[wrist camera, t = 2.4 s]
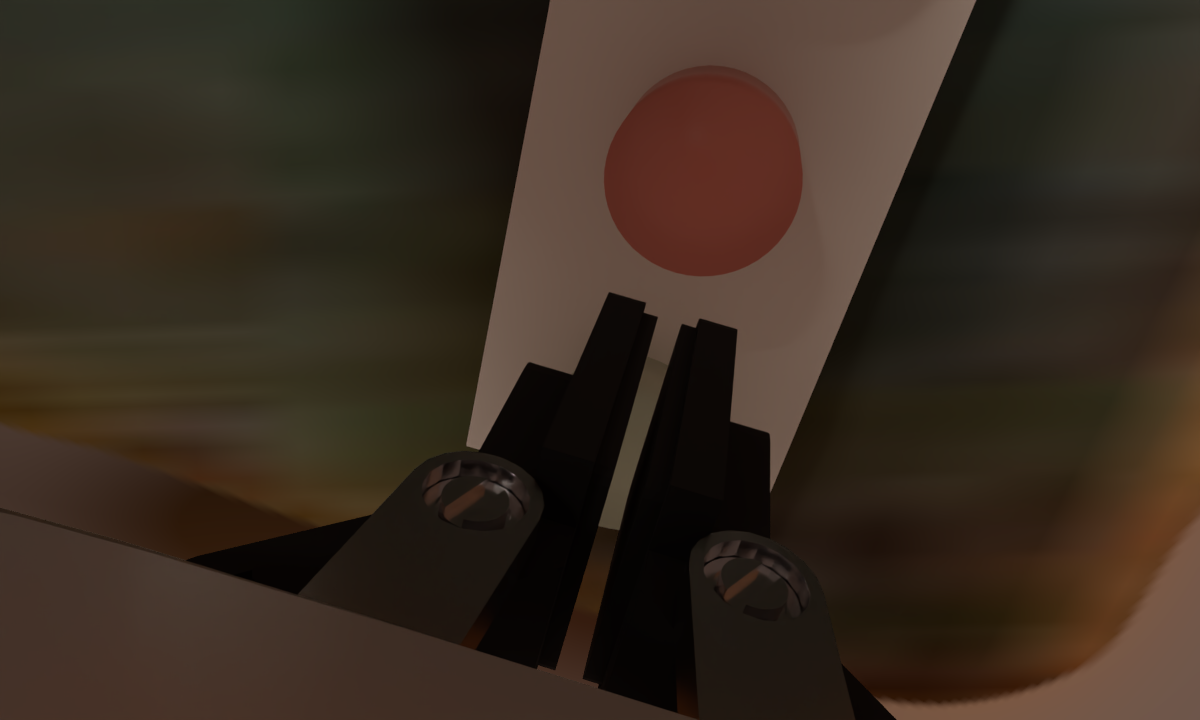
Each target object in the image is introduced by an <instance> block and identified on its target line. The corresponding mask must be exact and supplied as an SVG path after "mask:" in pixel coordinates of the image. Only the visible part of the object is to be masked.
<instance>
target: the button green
mask: <svg viewBox="0 0 1200 720" xmlns="http://www.w3.org/2000/svg"><path fill="white" fill-rule="evenodd" d="M667 368H668V365H666V364H664V363H662V362H660V361H658V360H655V359H652V358H650V357H647V358H646V362H645V365H644V369H643V373H642V376H641V380H640V383H639V387H638V390H637V394H636V397H635V401H634V404H633V408H632V412H631V415H630V419H629V422H628V426H627V429H626V433H625V436H624V440H623V443H622V447H621V451H620V454H619V458H618V461H617V465H616V468H615V471H614V475H613V478H612V482H611V485H610V488H609V492H608V495H607V499H606V502H605V505H604V509H603V512H602V515H601V519H600V522H599V525H598V526H601V527H605V528H609V529H616V530H619V529H620V525H621V521H622V517H623V513H624V509H625V505H626V501H627V497H628V494H629V490H630V487H631V483H632V480H633V476H634V473H635V470H636V467H637V464H638V460H639V457H640V454H641V451H642V448H643V445H644V441H645V438H646V435H647V432H648V429H649V425H650V422H651V419H652V416H653V413H654V410H655V406H656V403H657V400H658V397H659V394H660V390H661V387H662V384H663V381H664V378H665V374H666V371H667ZM574 372H575V371H574ZM574 372H573V373H572V375H573V374H574Z"/></svg>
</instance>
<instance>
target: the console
mask: <svg viewBox="0 0 1200 720" xmlns="http://www.w3.org/2000/svg"><path fill="white" fill-rule="evenodd" d="M975 2H976V0H550V4H549V10H548V15H547V20H546V25H545V31H544V36H543V41H542V47H541V52H540V57H539V63H538V68H537V73H536V78H535V84H534V89H533V94H532V100H531V105H530V110H529V115H528V121H527V126H526V131H525V137H524V142H523V147H522V153H521V158H520V163H519V168H518V174H517V179H516V184H515V190H514V195H513V200H512V206H511V211H510V216H509V221H508V227H507V232H506V237H505V243H504V248H503V253H502V259H501V264H500V269H499V274H498V280H497V285H496V290H495V296H494V301H493V306H492V312H491V317H490V322H489V327H488V333H487V338H486V343H485V349H484V354H483V359H482V365H481V370H480V375H479V380H478V386H477V391H476V396H475V402H474V407H473V412H472V418H471V423H470V428H469V433H468V439H467V444H466V446H469V447H472V448H475V449H478V450H480V448H481V446H482V445H483V443H484V441H485V439H486V437H487V435H488V434H489V432H490V430H491V428H492V426H493V424H494V423H495V421H496V419H497V417H498V415H499V413H500V412H501V410H502V408H503V406H504V404H505V402H506V401H507V399H508V397H509V395H510V393H511V391H512V390H513V388H514V386H515V384H516V382H517V380H518V379H519V377H520V375H521V373H522V371H523V369H524V368H525V366H526V365H527V363H528V362H531V363H535V364H538V365H541V366H545V367H548V368H552V369H555V370H558V371H562V372H565V373H568V374H572V373H573V372H574V371H575V369H576V367H577V365H578V362H579V360H580V358H581V355H582V353H583V351H584V348H585V346H586V344H587V341H588V339H589V337H590V335H591V332H592V330H593V328H594V325H595V323H596V321H597V318H598V316H599V314H600V311H601V309H602V307H603V304H604V302H605V300H606V297H607V295H608V293H609V292H611V293H615V294H618V295H622V296H625V297H629V298H632V299H635V300H639V301H642V302H646V306H645V310H644V313H647V314H650V315H654V316H657V317H658V319H657V323H656V326H655V330H654V334H653V337H652V341H651V344H650V348H649V351H648V355H647V357H650V358H652V359H655V360H658V361H660V362H662V363H664V364H666V365H669V362H670V359H671V355H672V352H673V349H674V346H675V343H676V339H677V336H678V333H679V330H680V327H681V325H682V324H685V325H688V326H691V327H695V328H696V325H697V323H698V320H699V318H701V319H704V320H708V321H711V322H715V323H718V324H722V325H725V326H728V327H732V328H735V329H737V331H738V332H737V344H736V356H735V369H734V381H733V393H732V405H731V417H730V421H731V422H734V423H738V424H741V425H744V426H748V427H751V428H755V429H758V430H761V431H765V432H768V433H769V434H770V492H771V490H772V488H773V485H774V483H775V480H776V478H777V476H778V473H779V471H780V468H781V466H782V464H783V461H784V459H785V457H786V454H787V452H788V449H789V447H790V445H791V442H792V440H793V437H794V435H795V433H796V430H797V428H798V425H799V423H800V421H801V418H802V416H803V413H804V411H805V409H806V406H807V404H808V401H809V399H810V397H811V394H812V392H813V390H814V387H815V385H816V382H817V380H818V378H819V375H820V373H821V370H822V368H823V366H824V363H825V361H826V358H827V356H828V354H829V351H830V349H831V346H832V344H833V342H834V339H835V337H836V334H837V332H838V330H839V327H840V325H841V322H842V320H843V318H844V315H845V313H846V311H847V308H848V306H849V303H850V301H851V299H852V296H853V294H854V291H855V289H856V287H857V284H858V282H859V279H860V277H861V275H862V272H863V270H864V267H865V265H866V263H867V260H868V258H869V255H870V253H871V251H872V248H873V246H874V244H875V241H876V239H877V236H878V234H879V232H880V229H881V227H882V224H883V222H884V220H885V217H886V215H887V212H888V210H889V208H890V205H891V203H892V200H893V198H894V196H895V193H896V191H897V188H898V186H899V184H900V181H901V179H902V176H903V174H904V172H905V169H906V167H907V165H908V162H909V160H910V157H911V155H912V153H913V150H914V148H915V145H916V143H917V141H918V138H919V136H920V133H921V131H922V129H923V126H924V124H925V121H926V119H927V117H928V114H929V112H930V109H931V107H932V105H933V102H934V100H935V98H936V95H937V93H938V90H939V88H940V86H941V83H942V81H943V78H944V76H945V74H946V71H947V69H948V66H949V64H950V62H951V59H952V57H953V54H954V52H955V50H956V47H957V45H958V42H959V40H960V38H961V35H962V33H963V30H964V28H965V26H966V23H967V21H968V19H969V16H970V14H971V11H972V9H973V7H974V4H975ZM708 65H712V66H724V67H729V68H734V69H737V70H740V71H743V72H746V73H748V74H750V75H752V76H754V77H756V78H758V79H759V80H760V81H762V82H763V83H765V84H766V85H768V86H769V87H770V88H771V89H772V90H773V91H774V92H775V93H776V94H777V95H778V96H779V98H780V99H781V100H782V101H783V103H784V104H785V106H786V107H787V109H788V111H789V112H790V114H791V116H792V119H793V121H794V123H795V126H796V130H797V134H798V138H799V146H800V154H801V163H802V171H803V186H802V193H801V199H800V203H799V206H798V210H797V213H796V215H795V217H794V219H793V222H792V224H791V225H790V227H789V229H788V230H787V232H786V234H785V235H784V236H783V237H782V239H781V240H780V241H779V242H778V244H777V245H776V246H775V247H773V248H772V249H771V250H770V251H769V252H768V253H767V254H766V255H764V256H763V257H762V258H760V259H759V260H757V261H756V262H754V263H752V264H750V265H749V266H747V267H744V268H742V269H739V270H737V271H734V272H730V273H727V274H722V275H716V276H690V275H684V274H679V273H675V272H672V271H669V270H666V269H663V268H661V267H659V266H657V265H655V264H653V263H652V262H650V261H649V260H647V259H646V258H644V257H643V256H641V255H640V254H639V253H638V252H637V251H636V250H634V249H633V248H632V247H631V246H630V244H629V243H628V242H627V241H626V240H625V239H624V237H623V236H622V235H621V233H620V232H619V230H618V229H617V227H616V225H615V223H614V221H613V219H612V217H611V214H610V211H609V209H608V205H607V201H606V197H605V189H604V169H605V163H606V157H607V154H608V151H609V147H610V145H611V142H612V140H613V138H614V136H615V134H616V132H617V130H618V129H619V127H620V126H621V124H622V123H623V121H624V120H625V118H626V117H627V116H628V114H629V113H630V111H631V110H632V109H633V107H634V106H635V104H636V103H637V102H638V101H639V99H640V98H641V97H642V96H643V95H644V94H645V93H646V92H647V91H648V90H649V89H650V88H651V87H652V86H653V85H655V84H656V83H658V82H659V81H660V80H662V79H663V78H665V77H667V76H669V75H671V74H673V73H675V72H678V71H681V70H684V69H687V68H692V67H697V66H708Z"/></svg>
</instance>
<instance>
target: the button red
mask: <svg viewBox="0 0 1200 720" xmlns="http://www.w3.org/2000/svg"><path fill="white" fill-rule="evenodd" d="M802 186H803V171H802V163H801V154H800V146H799V138H798V134H797V130H796V126H795V123H794V121H793V119H792V116H791V114H790V112H789V111H788V109H787V107H786V106H785V104H784V103H783V101H782V100H781V99H780V98H779V96H778V95H777V94H776V93H775V92H774V91H773V90H772V89H771V88H770V87H769V86H768V85H766V84H765V83H763V82H762V81H760V80H759V79H758V78H756V77H754V76H752V75H750V74H748V73H746V72H743V71H740V70H737V69H734V68H729V67H724V66H712V65H708V66H697V67H692V68H687V69H684V70H681V71H678V72H675V73H673V74H671V75H669V76H667V77H665V78H663V79H662V80H660V81H659V82H658V83H656V84H655V85H653V86H652V87H651V88H650V89H649V90H648V91H647V92H646V93H645V94H644V95H643V96H642V97H641V98H640V99H639V101H638V102H637V103H636V104H635V106H634V107H633V109H632V110H631V111H630V113H629V114H628V116H627V117H626V118H625V120H624V121H623V123H622V124H621V126H620V127H619V129H618V130H617V132H616V134H615V136H614V138H613V140H612V142H611V145H610V147H609V151H608V154H607V157H606V163H605V169H604V189H605V197H606V201H607V205H608V209H609V211H610V214H611V217H612V219H613V221H614V223H615V225H616V227H617V229H618V230H619V232H620V233H621V235H622V236H623V237H624V239H625V240H626V241H627V242H628V243H629V244H630V246H631V247H632V248H633V249H634V250H636V251H637V252H638V253H639V254H640V255H641V256H643V257H644V258H646V259H647V260H649V261H650V262H652V263H653V264H655V265H657V266H659V267H661V268H663V269H666V270H669V271H672V272H675V273H679V274H684V275H690V276H716V275H722V274H727V273H730V272H734V271H737V270H739V269H742V268H744V267H747V266H749V265H750V264H752V263H754V262H756V261H757V260H759V259H760V258H762V257H763V256H764V255H766V254H767V253H768V252H769V251H770V250H771V249H772V248H773V247H775V246H776V245H777V244H778V242H779V241H780V240H781V239H782V237H783V236H784V235H785V234H786V232H787V230H788V229H789V227H790V225H791V224H792V222H793V219H794V217H795V215H796V213H797V210H798V206H799V203H800V199H801V193H802Z"/></svg>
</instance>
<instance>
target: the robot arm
mask: <svg viewBox="0 0 1200 720" xmlns="http://www.w3.org/2000/svg"><path fill="white" fill-rule="evenodd" d="M645 306H646V302H642V301H639V300H635V299H632V298H629V297H625V296H622V295H618V294H615V293H611V292H609V293H608V295H607V297H606V300H605V302H604V304H603V307H602V309H601V311H600V314H599V316H598V318H597V321H596V323H595V325H594V328H593V330H592V332H591V335H590V337H589V339H588V341H587V344H586V346H585V348H584V351H583V353H582V355H581V358H580V360H579V362H578V365H577V367H576V369H575V372H574V374H573V375H572V374H568V373H565V372H562V371H558V370H555V369H552V368H548V367H545V366H541V365H538V364H535V363H531V362H528V363H527V365H526V366H525V368H524V369H523V371H522V373H521V375H520V377H519V379H518V380H517V382H516V384H515V386H514V388H513V390H512V391H511V393H510V395H509V397H508V399H507V401H506V402H505V404H504V406H503V408H502V410H501V412H500V413H499V415H498V417H497V419H496V421H495V423H494V424H493V426H492V428H491V430H490V432H489V434H488V435H487V437H486V439H485V441H484V443H483V445H482V446H481V448H480V450H479V452H469V451H461V452H452V453H444V454H441V455H439V456H436V457H433V458H430V459H428V460H426V461H425V462H424V463H422V464H421V465H420V466H418V467H417V468H416V469H414V471H413V472H412V473H411V474H410V475H409V476H408V477H407V478H406V479H405V480H404V481H403V482H402V483H401V484H400V485H399V487H398V488H397V489H396V490H395V491H394V492H393V493H392V494H391V495H390V496H389V497H388V498H387V499H386V500H385V502H384V503H383V504H382V505H381V506H380V507H379V508H378V509H377V510H376V511H375V512H374V513H373V514H372V515H369V516H365V517H360V518H356V519H352V520H348V521H343V522H339V523H335V524H331V525H327V526H322V527H318V528H314V529H310V530H306V531H301V532H297V533H293V534H289V535H285V536H280V537H276V538H272V539H268V540H264V541H259V542H255V543H251V544H247V545H242V546H238V547H234V548H230V549H225V550H221V551H217V552H213V553H209V554H204V555H200V556H197V557H194V558H191V559H188V560H182V559H179V558H176V557H172V556H169V555H166V554H163V553H159V552H156V551H153V550H150V549H146V548H143V547H140V546H136V545H133V544H130V543H126V542H123V541H120V540H117V539H113V538H109V537H106V536H102V535H98V534H95V533H91V532H87V531H83V530H80V529H76V528H73V527H69V526H65V525H62V524H58V523H54V522H51V521H47V520H43V519H40V518H36V517H32V516H28V515H25V514H21V513H18V512H14V511H10V510H7V509H3V508H0V720H896V719H895V718H894V717H893V716H892V715H891V714H890V713H889V712H888V711H887V710H886V709H885V708H884V706H883V705H882V704H881V703H880V702H879V701H878V700H877V699H876V698H875V697H874V696H873V695H872V694H871V693H870V692H869V691H868V690H867V689H866V688H865V687H864V686H863V685H862V684H861V683H860V682H859V681H858V680H857V679H856V678H855V677H854V676H853V675H852V674H851V673H850V672H849V671H848V670H847V669H846V668H845V667H844V666H843V665H842V664H841V661H840V657H839V653H838V649H837V645H836V641H835V637H834V633H833V629H832V625H831V621H830V617H829V613H828V609H827V605H826V601H825V597H824V593H823V591H822V588H821V586H820V584H819V582H818V579H817V577H816V576H815V574H814V573H813V572H812V571H811V570H810V568H809V567H808V566H807V565H806V563H805V562H804V561H803V560H801V559H800V558H799V557H798V556H796V555H795V554H794V553H793V552H791V551H790V550H789V549H788V548H786V547H784V546H782V545H780V544H778V543H776V542H774V541H773V540H771V539H770V434H769V433H768V432H765V431H761V430H758V429H755V428H751V427H748V426H744V425H741V424H738V423H734V422H731V421H730V417H731V405H732V393H733V381H734V369H735V356H736V344H737V332H738V331H737V329H735V328H732V327H728V326H725V325H722V324H718V323H715V322H711V321H708V320H704V319H701V318H699V320H698V323H697V325H696V328H695V327H691V326H688V325H685V324H682V325H681V327H680V330H679V333H678V336H677V339H676V343H675V346H674V349H673V352H672V355H671V359H670V362H669V365H668V368H667V371H666V374H665V378H664V381H663V384H662V387H661V390H660V394H659V397H658V400H657V403H656V406H655V410H654V413H653V416H652V419H651V422H650V425H649V429H648V432H647V435H646V438H645V441H644V445H643V448H642V451H641V454H640V457H639V460H638V464H637V467H636V470H635V473H634V476H633V480H632V483H631V487H630V490H629V494H628V497H627V501H626V505H625V509H624V513H623V517H622V521H621V525H620V529H619V533H618V537H617V541H616V545H615V549H614V554H613V558H612V562H611V566H610V570H609V574H608V578H607V582H606V586H605V590H604V594H603V598H602V602H601V606H600V610H599V614H598V618H597V622H596V626H595V630H594V634H593V638H592V642H591V646H590V650H589V654H588V658H587V662H586V667H585V671H584V675H583V679H585V680H588V681H591V682H594V683H598V684H599V686H598V688H594V687H591V686H589V685H585V684H582V683H579V682H576V681H572V680H569V679H566V678H563V677H560V676H556V675H553V674H550V673H547V672H543V671H540V670H537V667H538V665H540V666H543V667H547V668H550V669H553V670H555V669H556V666H557V662H558V659H559V656H560V652H561V649H562V646H563V642H564V639H565V636H566V632H567V629H568V625H569V622H570V619H571V615H572V612H573V609H574V605H575V602H576V599H577V595H578V592H579V589H580V585H581V582H582V579H583V575H584V572H585V569H586V565H587V562H588V559H589V555H590V552H591V549H592V545H593V542H594V539H595V535H596V532H597V529H598V525H599V522H600V519H601V515H602V512H603V509H604V505H605V502H606V499H607V495H608V492H609V488H610V485H611V482H612V478H613V475H614V471H615V468H616V465H617V461H618V458H619V454H620V451H621V447H622V443H623V440H624V436H625V433H626V429H627V426H628V422H629V419H630V415H631V412H632V408H633V404H634V401H635V397H636V394H637V390H638V387H639V383H640V380H641V376H642V373H643V369H644V365H645V362H646V358H647V355H648V351H649V348H650V344H651V341H652V337H653V334H654V330H655V326H656V323H657V319H658V317H657V316H654V315H650V314H647V313H644V310H645Z"/></svg>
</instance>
